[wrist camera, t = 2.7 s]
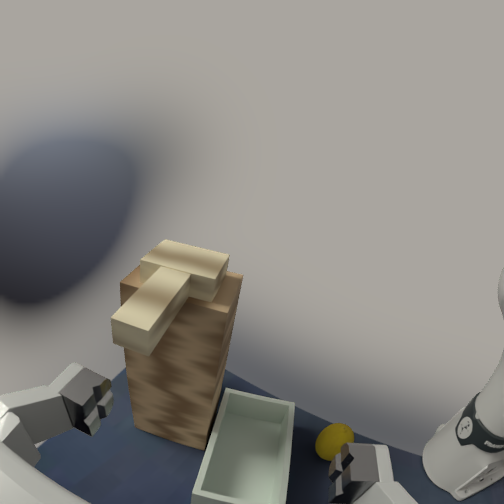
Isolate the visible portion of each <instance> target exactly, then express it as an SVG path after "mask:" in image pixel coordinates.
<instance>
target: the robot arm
mask: <svg viewBox="0 0 504 504" xmlns="http://www.w3.org/2000/svg"><path fill="white" fill-rule="evenodd" d="M498 300H499V305H500V308H501V311H502V314H503V318H504V268H503V271H502V273H501V276H500V279H499V284H498ZM111 387H112V386H111V381H110V380H109V379H107V378H105V377H103V376H101V375H99V374H97V373H95V372H93V371H91V370H89V369H87V368H85V367H84V366H82V365H80V364H78V363H76V362H75V363H72V364H70V365H69V366H68V367H67V368H66V369H65V370H64V371H63V372H62V373H61V374H60V375H59V376H58V377H57V378H56V379H55V380H54V381H53V382H52V383H51V384H50V385H49V386H46V385H43V386H39V387H35V388H31V389H27V390H23V391H18V392H14V393H9V394H4V395H0V504H90V503H89V502H87V501H85V500H83V499H82V498H80V497H78V496H76V495H75V494H73V493H71V492H70V491H68V490H66V489H65V488H63V487H62V486H60V485H58V484H57V483H55V482H54V481H52V480H51V479H49V478H48V477H46V476H45V475H44V474H42V473H41V472H39V471H38V470H37V469H35V468H34V466H35V465H36V463H37V462H38V461H39V459H40V458H41V457H40V453H39V452H38V450H37V448H36V447H35V445H34V444H36V443H39V442H41V441H44V440H46V439H49V438H51V437H54V436H56V435H58V434H61V433H63V432H65V431H68V430H70V429H72V428H73V427H74V428H76V429H78V430H80V431H82V432H84V433H85V434H87V435H89V436H91V437H93V435H94V434H95V432H96V431H97V430H98V428H99V427H100V426H101V422H100V419H102V418H105V417H107V416H108V414H109V413H110V411H111V409H112V406H113V400H114V399H113V394H112V393H111V391H110V390H109V389H110V388H111ZM423 465H424V468H425V471H426V473H427V475H428V476H429V478H430V479H431V480H432V482H433V483H434V484H436V485H437V486H438V487H440V488H442V489H444V490H446V491H448V492H449V493H451V495H452V496H453V497H454V498H455V499H456V500H458V501H462V500H464V499H466V498H468V497H470V496H472V495H474V494H475V493H477V492H479V491H481V490H483V489H485V488H486V487H488V486H490V485H491V484H493V483H495V482H496V481H498V480H500V479H501V478H502V477H503V476H504V350H503V354H502V357H501V360H500V362H499V364H498V366H497V368H496V370H495V371H494V373H493V375H492V376H491V378H490V380H489V381H488V383H487V384H486V386H485V387H484V388H483V390H482V391H481V392H479V393H478V394H477V395H476V396H475V397H474V398H473V399H472V400H471V401H470V402H469V403H468V405H467V406H466V408H465V407H464V408H462V409H461V410H460V411H459V412H458V413H457V414H456V415H455V416H454V417H453V418H452V419H451V420H450V421H449V422H448V423H447V424H442V425H440V426H439V427H438V428H437V430H436V433H435V435H434V436H433V437H432V438H431V439H430V440H429V441H428V442H427V444H426V445H425V447H424V451H423ZM329 479H330V480H331V482H332V483H333V484H332V485H331V486H330V487H329V493H328V503H333V504H418V503H417V502H416V501H415V500H414V499H413V498H412V497H411V496H410V495H409V494H408V492H407V491H406V490H405V489H404V488H403V487H402V486H401V485H400V484H399V483H398V482H394V479H393V473H392V467H391V461H390V456H389V450H388V447H387V446H386V445H372V444H361V443H347V442H346V443H345V444H343V446H342V447H341V453H339V454H337V455H335V456H334V458H333V459H332V462H331V464H330V468H329Z"/></svg>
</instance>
